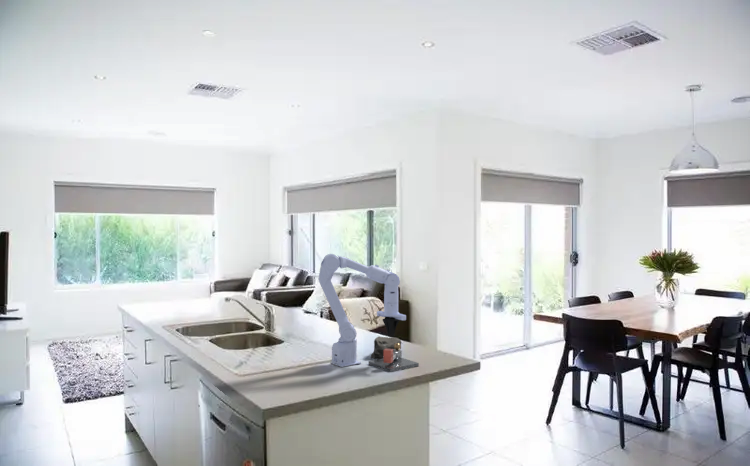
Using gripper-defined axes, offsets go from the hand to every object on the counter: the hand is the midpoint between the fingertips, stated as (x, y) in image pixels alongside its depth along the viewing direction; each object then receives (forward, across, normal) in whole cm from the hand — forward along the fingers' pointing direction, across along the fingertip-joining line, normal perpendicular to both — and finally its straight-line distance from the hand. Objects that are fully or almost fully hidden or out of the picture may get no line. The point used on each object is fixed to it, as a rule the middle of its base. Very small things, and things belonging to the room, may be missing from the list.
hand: (391, 336), depth 209 cm
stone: (+11, +10, -7) cm, 16 cm away
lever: (+9, -4, +3) cm, 10 cm away
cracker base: (+10, -4, +3) cm, 12 cm away
